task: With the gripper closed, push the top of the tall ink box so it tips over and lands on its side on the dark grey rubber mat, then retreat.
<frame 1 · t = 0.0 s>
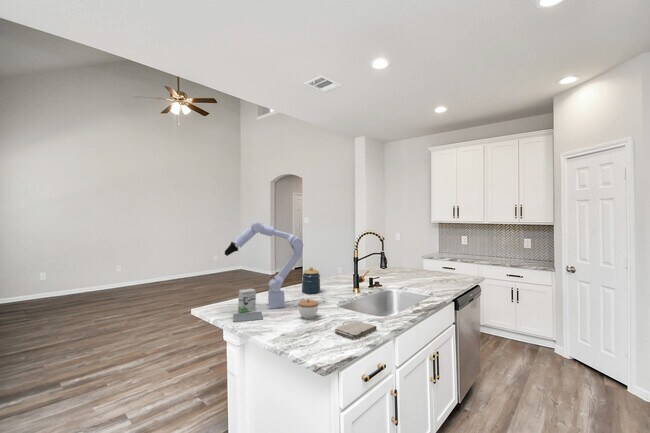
hand: (225, 253, 177), 32 cm above the worktop, tool tilted 50°, fingers open, 7 cm apart
washcloth: (355, 333, 146), on the worktop
ink box: (247, 311, 177), on the worktop
mat: (247, 316, 166), on the worktop
canister: (311, 292, 220), on the worktop
lidded jar: (308, 317, 167), on the worktop
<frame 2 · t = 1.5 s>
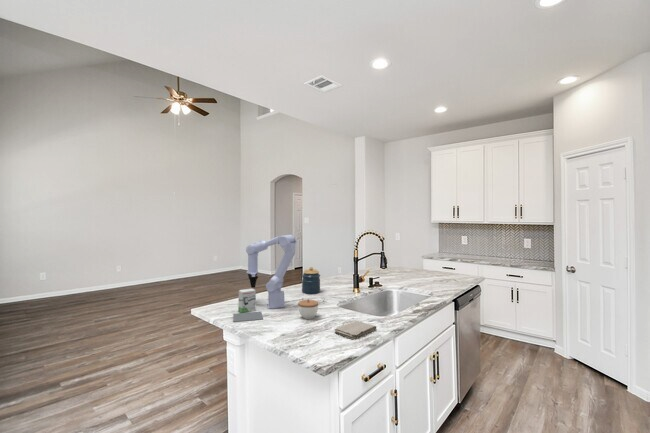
hand: (252, 286, 192), 10 cm above the worktop, tool pointing down, fingers open, 6 cm apart
nothing on the worktop moved.
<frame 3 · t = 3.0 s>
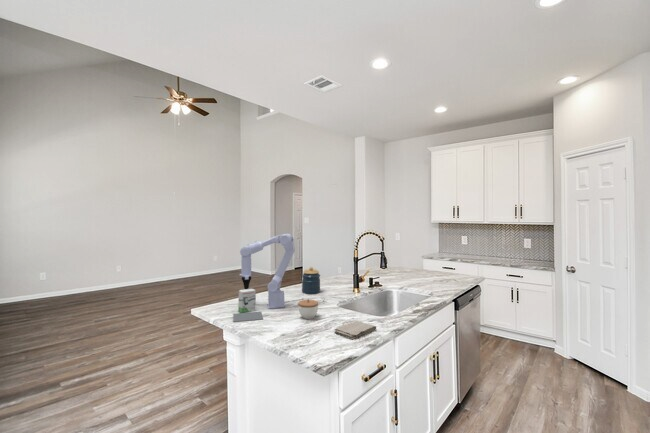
hand: (246, 289, 187), 10 cm above the worktop, tool pointing down, fingers closed
nothing on the worktop moved.
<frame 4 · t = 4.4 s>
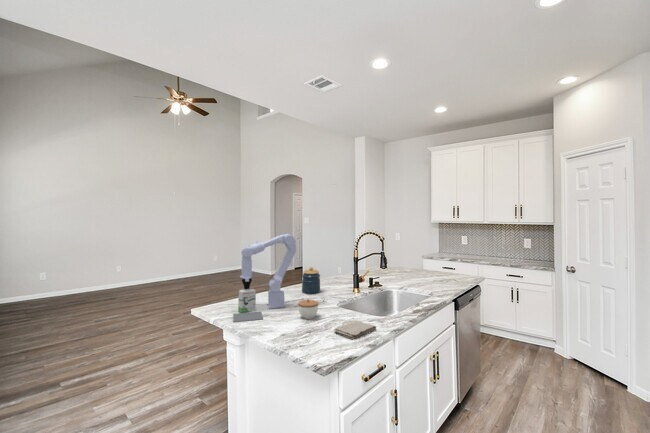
hand: (246, 291, 181), 10 cm above the worktop, tool pointing down, fingers closed
ink box: (247, 311, 177), on the worktop, touching gripper
everything else where it was.
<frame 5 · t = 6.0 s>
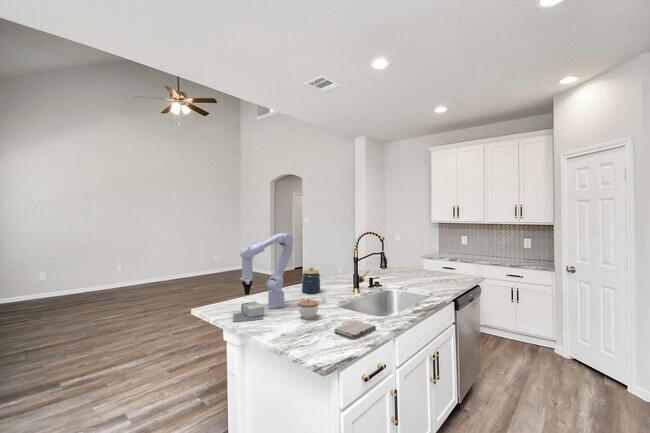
hand: (247, 294, 175), 10 cm above the worktop, tool pointing down, fingers closed
ink box: (248, 306, 175), point 3 cm above the worktop, touching mat
everything else where it was.
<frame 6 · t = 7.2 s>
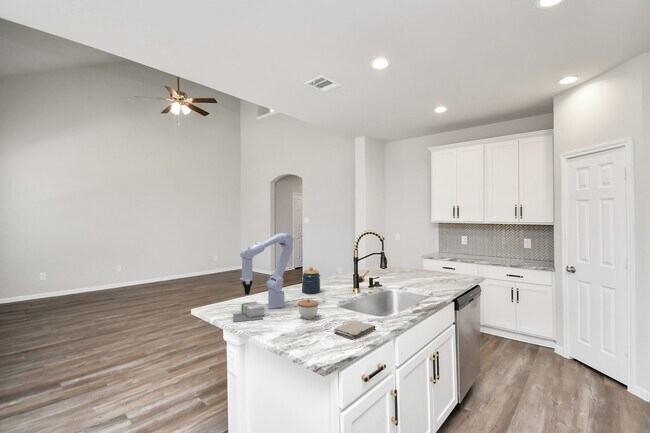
hand: (247, 294, 175), 10 cm above the worktop, tool pointing down, fingers closed
nothing on the worktop moved.
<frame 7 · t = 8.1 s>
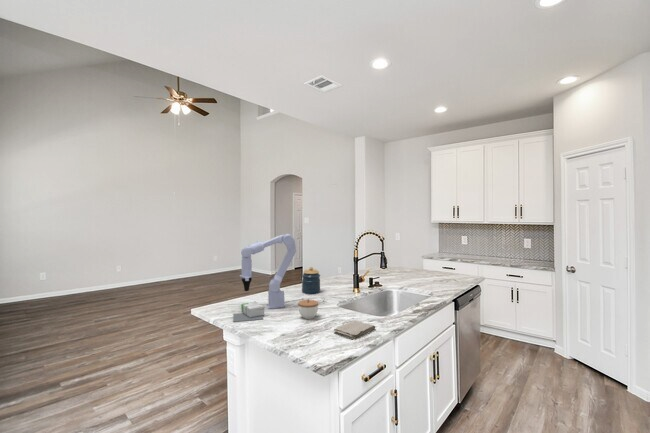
hand: (246, 290, 183), 10 cm above the worktop, tool pointing down, fingers closed
nothing on the worktop moved.
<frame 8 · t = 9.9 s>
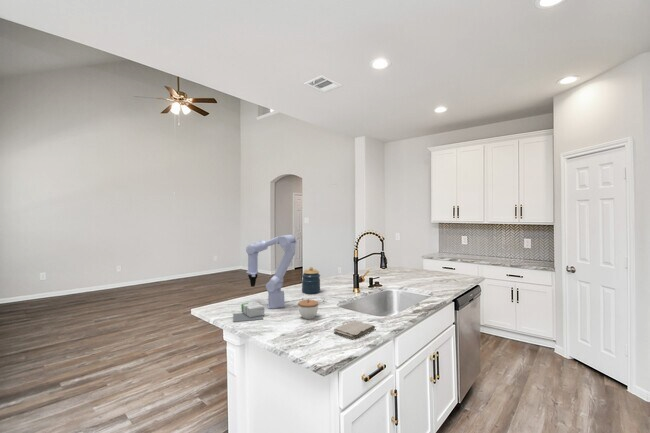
hand: (252, 286, 192), 10 cm above the worktop, tool pointing down, fingers closed
nothing on the worktop moved.
at the end: ink box tilted 90°; ink box inside the target area (8.0 cm from its centre), point 2.9 cm above the worktop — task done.
